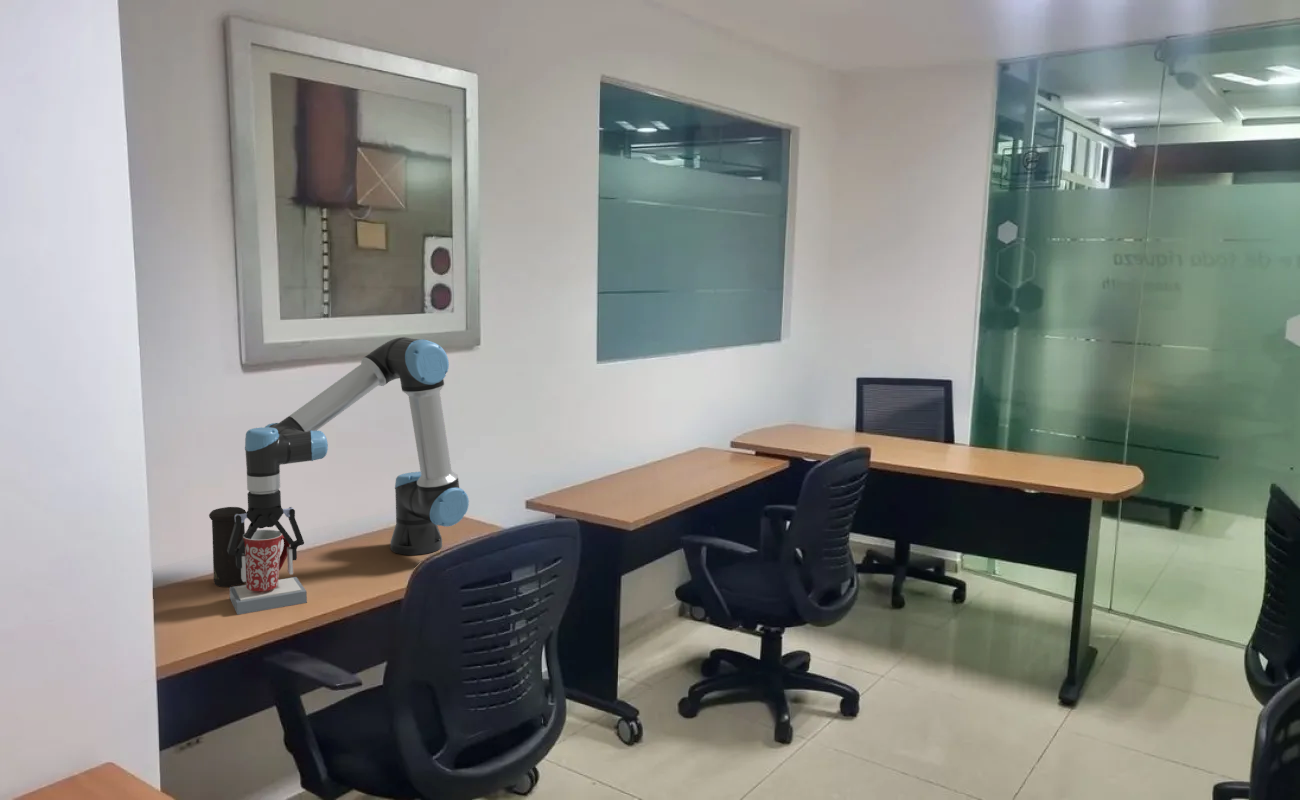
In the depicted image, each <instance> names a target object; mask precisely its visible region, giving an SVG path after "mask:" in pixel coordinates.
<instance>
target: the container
mask: <svg viewBox="0 0 1300 800" xmlns="http://www.w3.org/2000/svg"><path fill="white" fill-rule="evenodd" d="M236 513H238V514H245V513H247V511H246V510H245V509H244V508H242V507H240V506H239V507H238V506H226V507H225V506H224V507H220V508H215V509H213V510H212V511H211V512H210V513H209V514H208V516H209V519H210V520H211V532H212V564H213V565H212V566H213V569H212V570H213V584H214V585H215V586H217V587H222V588H224V587H226V588H227V587H235V586H241V585H244V584H246V582H243V581H242V579H241V568H240V569H238V568H237V566H236V556H235V555H229V554H228V552H227V548H228V545H229V541H230V538H231V534H232V531H233V527H234V524H235V519H234V515H235V514H236ZM245 533H246V527H245V521H244V522H243V523H242V525H241V530H240V533H239V537H238V540H237V544H236V547H235V549H237V547H238V545H239V544H240V542H241V540H242V538H243V537H242V536H243V534H245ZM243 553H244V552H243Z"/></svg>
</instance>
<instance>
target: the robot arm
mask: <svg viewBox="0 0 1300 800" xmlns="http://www.w3.org/2000/svg"><path fill="white" fill-rule="evenodd" d="M360 363H361V364H358V366H356V367H355V368H354V369H352V370H351V371H350V372H348V373H347V374H345V375H344V376H343V377H341V378H340V379H338V380H337V381H336V382H334V383H333V384H332V385H330V386H328V387H327V388H326V389H325V390H323V391H322V392H320V393H319V394H317V395H316V396H315V397H313V398H312V399H310V400H309V401H308V402H306V403H305V404H304V405H302V406H301V407H300V408H298V409H297V410H295V411H294V412H293V413H292V414H290V415H288V416H287V417H286V418H284V419H282V420H281V421H280V422H273V423H269V424H267V425H265V426H264V427H262V426H261V427H254V428H251V429H249V430H247V431H246V433H245V439H244V441H245V442H244V450H245V463H246V485H247V486H246V489H247V491H248V493H247V511H246V513H245V514H238V513H236V514H235V515H234V519H235V524H234V527H233V531H232V534H231V538H230V541H229V545H228V548H227V552H228V554H229V555H235V556H236V566H237V568H238V569H240V568H241V579H242V581H243V582H245V583H246V560H245V555H244V553H243V552H244V550H245V542H244V540H243V538H242V540H241V542H240V544H239V545H238V547H237V549H235V547H236V544H237V540H238V537H239V533H240V530H241V525H242V523H243V522H244V523H245V520H246V519H248V520H249V522H250V523H249V525H248V527H247V529H246V530H245V536H244V537H245V538H247V539H251V538H252V536H253V534H254V533H255V532H256V530H261V529H264V528H273V527H274V526H275V528H276V529H277V531H280V532H281V534H282V535H283V536H284V538H285V539H286V540H287V542H288V543H289V544H290V547H287V557H286V559H287V562H286V563H287V573H288V574H289V575H290V576H292V575H294V564H293V563H294V562H293V561H297V559H298V557H297V556H298V555H297V554H298V553H297V552H298V551H297V549H298V547H300V546H303V545H305V541H304V539H303V536H302V533H301V530H300V527H299V526H298V523H297V520H296V510H295V509H294V508H293V507H292V506H289V507H288V508H283V507H282V499H281V497H282V496H281V493H282V492H281V490H280V488H281V475H280V474H281V473H280V472H281V471H280V470H281V468H280V467H281V465H287V464H289V465H290V464H297V463H303V462H314V461H318V460H321V459H324V458H325V457H327V456H326V455H327V453H328V450H329V446H328V445H329V443H328V440H327V436H326V435H325V433H324V432H323V431H322V430H320V429H321V428H322V427H324V426H325V425H326V424H328V423H330V422H331V421H332V420H334V419H335V418H336V417H337V416H339V415H340V414H341V413H344V411H346V410H347V409H348V408H350V407H351V406H353V405H354V404H355V403H357V402H358V401H359V400H360V399H362V398H364V396H366V395H367V394H369V393H370V392H372V391H373V390H374V389H376V388H377V387H378V386H381V387H384V386H386V385H387V384H389V383H390V382H391V381H394V380H398V379H400V387H401V391H402V393H404V394H405V395H407V396H408V402H409V407H410V414H411V419H412V420H411V421H412V426H413V427H412V428H413V432H414V439H415V444H416V446H415V447H416V450H417V457H418V463H419V470H420V471H415V472H406V473H402V474H399V475H398V476H397V477H396V478H395V484H394V489H395V525H394V526H395V527H394V529H393V532H392V535H391V538H390V551H392V552H393V553H395V554H400V555H404V556H405V555H406V556H407V555H408V556H409V555H410V556H415V555H427V554H430V553H431V554H432V553H434V552H437V551H439V550H441V548H442V547H443V538H442V535H441V532H440V529H439V527H438V526H441V527H453V526H454V525H456V524H458V523H459V522H460V521H462V520H463V519H464V517H465V515H466V514H467V512H468V509H469V506H470V505H469V504H470V503H469V502H470V500H469V496H468V494H467V492H466V491H464V489H463V488H461V487H460V482H459V477H458V474H457V473H456V472H454V471H453V470H452V465H451V459H450V453H449V452H450V451H449V446H448V445H449V444H448V438H447V432H446V425H445V417H444V413H443V405H442V398H441V390H442V389H443V387H445V380H444V379H445V377H446V376H447V375H446V374H447V373H448V372H449V365H450V363H449V358H448V355H447V353H446V351H445V349H444V348H443V347H442V346H441V345H439V344H438V343H436V342H433V341H430V340H427V339H419V338H412V337H411V338H410V337H406V336H405V337H404V336H403V337H396V338H393V339H389V341H387V342H385V343H383V344H381V345H380V346H378V347H376V348H375V349H374V350H372V351H371V352H369V353H368V354H367V355H365V356H364V357H362V358H361V362H360ZM283 515H284V516H285V517H286V518H288V520H289V524H290V525H291V528H292V532H293V534H294V536H295V538H296V540H293V539H292V537H291V536H290V535H289V533H288V531H286V529H285V528H284V526H283V525H282V524H281V522H280V519H281V517H282V516H283Z"/></svg>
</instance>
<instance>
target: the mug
mask: <svg viewBox="0 0 1300 800" xmlns="http://www.w3.org/2000/svg"><path fill="white" fill-rule="evenodd" d="M244 536H245V534H243V536H242V537H243V540H244V542H245V550H244V555H245V560H246V582H245V585H246V587H247V589H248V590H251V591H267V590H271V589H274V588H276V587H277V586H278V580H279V575H280V570H281V569H282V567H283V565H284V564H285V561H286V559H287V547H290V544H289V543H288V542H287V540H286V539H285V538H284V536H283V535H282V534H281V532H280V531H279V530H275V529H257V530H256V532H255V533H254V534H253V536H252V538H251V539H247V538H245V537H244ZM282 541H283V546H282V547H283V548H282V550H281V544H282Z"/></svg>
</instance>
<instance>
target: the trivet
mask: <svg viewBox="0 0 1300 800" xmlns="http://www.w3.org/2000/svg"><path fill="white" fill-rule="evenodd" d="M307 594H308V593H307V590H306V588H305V587H304V586H303V584H302V583H301V582H300V579H299V578H298V577H297V576H293V577H287V578H281V579H279V578H278V586H277V587H276V588H274V589H271V590H267V591H251V590H248V589H247V587H246V584H241V585H236V586H230V587H229V600H230V601H231V604H232V606H233V608H234V611H235V612H236V615H237V616H239V615H243V614H250V613H255V612H256V613H257V612H260V611H261V612H262V611H266V610H272V609H279V608H285V607H290V606H295V605H301V604H306V603H308V597H307Z"/></svg>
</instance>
